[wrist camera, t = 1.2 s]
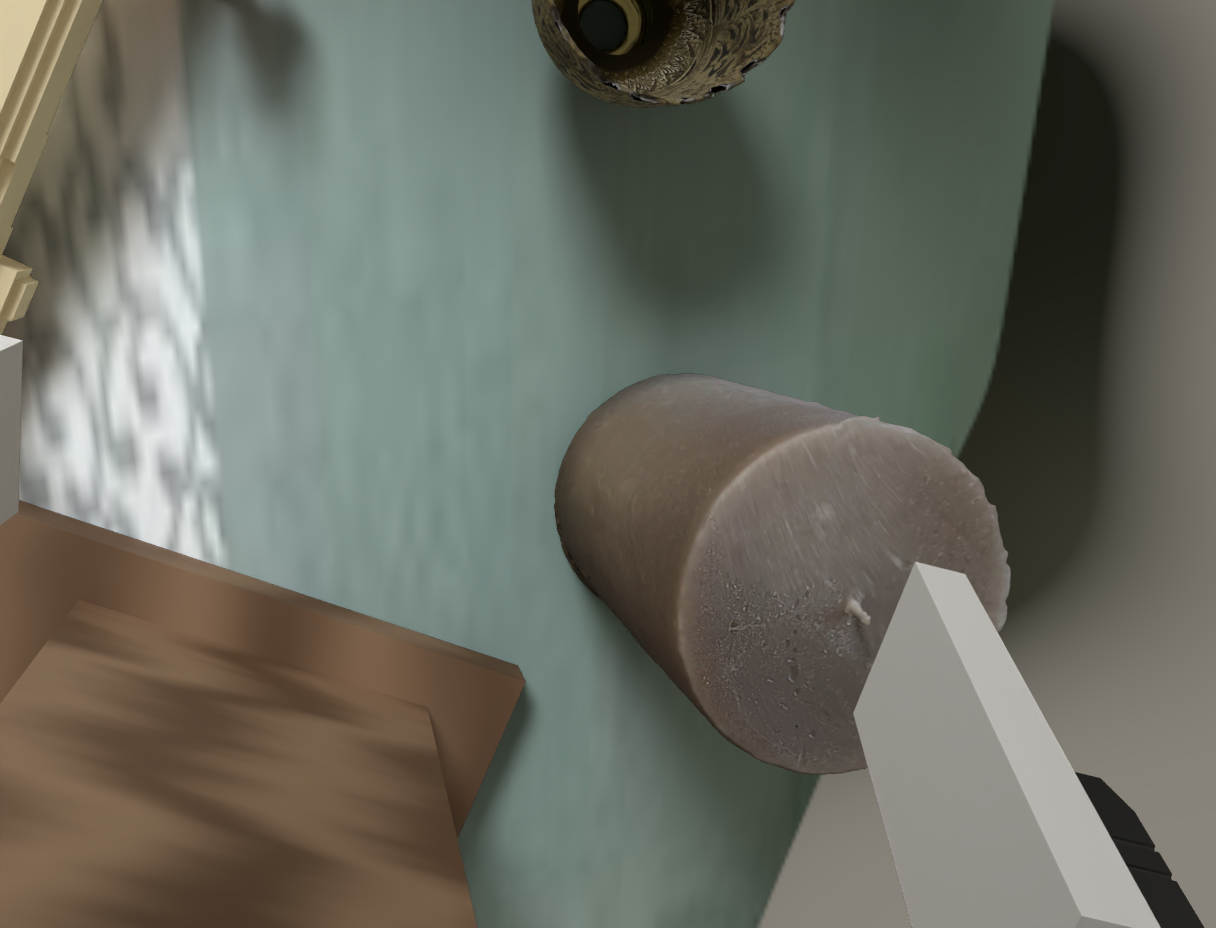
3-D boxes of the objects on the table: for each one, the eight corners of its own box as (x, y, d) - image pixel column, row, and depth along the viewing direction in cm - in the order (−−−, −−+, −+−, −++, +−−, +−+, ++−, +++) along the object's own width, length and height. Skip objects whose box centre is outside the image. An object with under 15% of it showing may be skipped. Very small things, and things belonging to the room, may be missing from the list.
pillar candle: (568, 638, 40) (710, 844, 26) (538, 386, 38) (676, 459, 24) (800, 591, 42) (1048, 757, 28) (785, 352, 40) (1044, 399, 26)
